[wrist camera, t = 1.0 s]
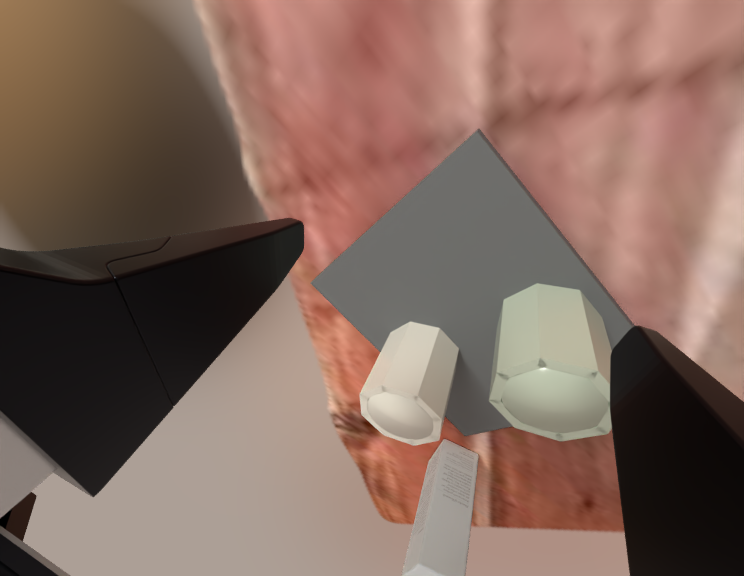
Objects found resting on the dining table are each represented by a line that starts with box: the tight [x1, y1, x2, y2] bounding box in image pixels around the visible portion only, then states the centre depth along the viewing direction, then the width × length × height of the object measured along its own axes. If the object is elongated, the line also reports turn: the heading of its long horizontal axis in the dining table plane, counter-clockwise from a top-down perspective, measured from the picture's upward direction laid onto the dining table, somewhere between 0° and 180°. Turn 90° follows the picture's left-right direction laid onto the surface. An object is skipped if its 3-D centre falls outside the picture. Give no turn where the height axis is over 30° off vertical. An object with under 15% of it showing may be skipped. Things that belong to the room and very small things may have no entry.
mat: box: [311, 129, 635, 436], centre depth 26 cm, size 22×18×1 cm
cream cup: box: [360, 322, 459, 446], centre depth 26 cm, size 6×6×7 cm
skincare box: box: [402, 439, 479, 576], centre depth 33 cm, size 6×4×12 cm
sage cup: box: [489, 283, 612, 441], centre depth 20 cm, size 6×6×7 cm
